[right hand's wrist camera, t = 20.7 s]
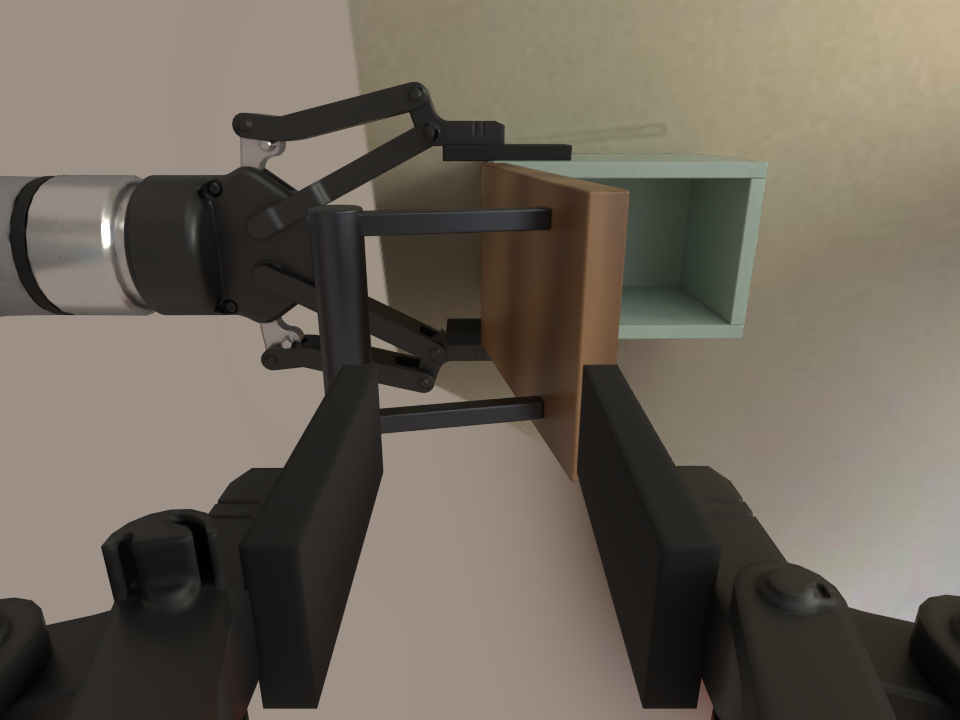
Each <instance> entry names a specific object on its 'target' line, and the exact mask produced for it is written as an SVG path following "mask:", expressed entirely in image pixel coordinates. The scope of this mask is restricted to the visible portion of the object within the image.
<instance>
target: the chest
mask: <svg viewBox="0 0 960 720" xmlns="http://www.w3.org/2000/svg"><path fill="white" fill-rule="evenodd" d="M488 163H508V164H513V165H517V166H522V167H526V168H531V169H535V170H540V171H544V172H549V173H553V174H558V175H562V176H567V177H571V178H576V179H580V180H585V181H589V182H593V183H598V184H602V185H607V186H611V187H616V188H620V189H625V190H628V191H629V193H630V195H629V208H628V220H627V233H626V246H625V258H624V271H623V283H622V296H621V309H620V321H619V334H618V339H742V336H743V330H744V322H745V315H746V309H747V302H748V295H749V289H750V282H751V275H752V269H753V262H754V255H755V249H756V242H757V235H758V229H759V222H760V215H761V209H762V202H763V195H764V189H765V182H766V179H765V178H766V176H767V169H768V162H764V161H756V160H748V159H739V158H731V157H723V156H715V155H707V154H571V161H488Z"/></svg>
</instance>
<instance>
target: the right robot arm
mask: <svg viewBox="0 0 960 720" xmlns="http://www.w3.org/2000/svg"><path fill="white" fill-rule="evenodd" d="M382 475H383V459H382V441H381V425H380V408H379V391H378V374H377V365H342V367H341V369H340V371H339V372H338V374H337V376H336V378H335V379H334V381H333V383H332V384H331V386H330V388H329V390H328V391H327V393H326V395H325V397H324V398H323V400H322V402H321V404H320V405H319V407H318V409H317V410H316V412H315V414H314V416H313V417H312V419H311V421H310V423H309V424H308V426H307V428H306V430H305V431H304V433H303V435H302V437H301V438H300V440H299V442H298V443H297V445H296V447H295V449H294V450H293V452H292V454H291V456H290V457H289V459H288V461H287V463H286V464H285V466H284V468H251V469H250V470H248V471H247V472H246V473H244V474H243V475H241V476H240V477H238V478H237V479H235V480H234V481H232V482H231V483H230V484H229V485H228V487H227V488H226V490H225V491H224V493H223V494H222V495H221V497H220V498H219V500H218V504H215V505H214V507H213V508H212V510H211V511H210V512H209V514H207V513H204V512H200V511H196V510H192V509H176V510H167V511H163V512H158V513H153V514H149V515H147V516H144V517H142V518H139V519H137V520H134V521H132V522H129V523H128V524H126V525H125V526H123V527H122V528H120V529H119V530H117V531H116V532H114V533H112V534H111V535H110V537H109V538H108V539H107V540H106V541H105V543H104V544H103V545H102V546H101V548H102V553H103V556H104V561H105V565H106V569H107V573H108V577H109V581H110V585H111V590H112V593H113V598H114V604H113V606H112V609H111V610H110V611H106V612H103V613H100V614H96V615H92V616H87V617H83V618H78V619H73V620H69V621H64V622H60V623H55V624H50V625H46V623H45V620H44V616H43V613H42V609H41V608H40V607H39V606H38V605H37V604H35V603H34V602H33V601H32V600H26V599H20V598H7V599H0V720H249V717H248V711H247V708H248V705H249V703H250V700H251V698H252V695H253V693H254V690H255V688H256V685H257V683H258V680H259V684H260V690H261V697H262V703H263V708H264V709H266V708H267V709H316V708H317V707H318V703H319V700H320V696H321V693H322V689H323V685H324V682H325V678H326V675H327V671H328V668H329V664H330V660H331V657H332V653H333V649H334V646H335V643H336V639H337V635H338V632H339V628H340V625H341V621H342V618H343V614H344V610H345V607H346V603H347V600H348V596H349V593H350V589H351V586H352V582H353V578H354V575H355V571H356V568H357V564H358V560H359V557H360V553H361V550H362V546H363V543H364V539H365V536H366V532H367V528H368V525H369V521H370V518H371V514H372V510H373V507H374V503H375V500H376V496H377V493H378V489H379V486H380V482H381V478H382ZM577 475H578V478H579V482H580V486H581V489H582V493H583V496H584V500H585V503H586V507H587V510H588V514H589V517H590V521H591V525H592V528H593V532H594V536H595V539H596V543H597V546H598V550H599V553H600V557H601V560H602V564H603V568H604V571H605V575H606V578H607V582H608V586H609V589H610V593H611V596H612V600H613V603H614V607H615V610H616V614H617V618H618V621H619V625H620V628H621V632H622V636H623V639H624V643H625V646H626V650H627V653H628V657H629V660H630V664H631V667H632V671H633V675H634V678H635V682H636V685H637V689H638V693H639V696H640V700H641V703H642V707H643V708H644V709H696V708H697V703H698V697H699V690H700V684H701V677H702V680H703V682H704V684H705V687H706V690H707V692H708V695H709V697H710V699H711V702H712V704H713V711H712V718H711V720H960V596H953V595H942V596H936V597H930V598H928V599H927V600H926V601H924V602H923V603H922V604H921V605H920V606H919V609H918V613H917V616H916V620H915V623H914V622H909V621H904V620H900V619H895V618H890V617H886V616H881V615H877V614H872V613H867V612H863V611H860V610H856V609H853V608H849V607H848V605H847V603H846V601H845V599H844V598H843V597H842V595H841V594H840V592H839V591H838V590H837V588H836V587H835V586H833V585H832V584H831V583H830V582H828V581H827V580H826V579H824V578H823V577H822V576H820V575H819V574H816V573H814V572H812V571H810V570H808V569H806V568H803V567H801V566H799V565H795V564H791V563H788V562H787V561H786V559H785V558H784V556H783V555H782V554H781V552H780V551H779V549H778V548H777V546H776V545H775V544H774V542H773V541H772V539H771V538H770V537H769V535H768V534H767V532H766V531H765V530H764V528H763V527H762V525H761V524H760V522H759V521H758V520H757V518H756V517H753V513H752V511H751V510H750V508H749V507H748V505H747V504H746V503H745V502H743V500H742V497H741V496H740V494H739V493H738V491H737V490H736V488H735V487H734V486H733V484H732V483H731V481H730V480H728V479H727V478H725V477H724V476H722V475H721V474H719V473H718V472H716V471H715V470H713V469H712V468H710V467H709V466H675V464H674V463H673V461H672V459H671V457H670V456H669V454H668V452H667V450H666V449H665V447H664V445H663V443H662V442H661V440H660V438H659V437H658V435H657V433H656V431H655V430H654V428H653V426H652V424H651V423H650V421H649V419H648V417H647V416H646V414H645V412H644V410H643V409H642V407H641V405H640V404H639V402H638V400H637V398H636V397H635V395H634V393H633V391H632V390H631V388H630V386H629V384H628V383H627V381H626V379H625V378H624V376H623V374H622V372H621V371H620V369H619V367H618V365H583V374H582V391H581V408H580V425H579V441H578V458H577Z"/></svg>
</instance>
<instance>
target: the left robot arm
mask: <svg viewBox="0 0 960 720" xmlns="http://www.w3.org/2000/svg"><path fill="white" fill-rule="evenodd" d="M408 112H409V113H410V116H411V118H412V121H413V124H414V126H415V127H414V128H412V129H410V130H409V131H407V132H405V133H403V134H402V135H400V136H398V137H396V138H394V139H393V140H391V141H389V142H387V143H385V144H384V145H382V146H380V147H378V148H376V149H375V150H373V151H371V152H369V153H367V154H366V155H364V156H362V157H360V158H358V159H357V160H355V161H353V162H351V163H349V164H348V165H346V166H344V167H342V168H340V169H339V170H337V171H335V172H333V173H331V174H330V175H328V176H326V177H324V178H322V179H321V180H319V181H317V182H315V183H313V184H311V185H309V186H307V187H305V188H304V189H302V190H300V191H297V190H296V189H294V188H293V187H292V186H290V185H289V184H287V183H286V182H284V181H283V180H281V179H280V178H279V177H277V176H276V175H274V174H273V173H271V172H270V171H269V170H267V169H265V164H266V162H267V160H268V159H269V158H271V157H273V156H279V155H281V154H282V153H283V152H284V150H285V146H286V141H295V140H302V139H308V138H311V137H315V136H319V135H323V134H327V133H331V132H334V131H338V130H342V129H346V128H350V127H354V126H358V125H362V124H366V123H370V122H373V121H377V120H381V119H385V118H389V117H393V116H397V115H401V114H404V113H408ZM232 126H233V130H234V131H235V133H236V134H237V135H238V136H239V137H240V138H241V167H240V168H237V169H236V170H234V171H233V172H231V173H229V174H227V175H152V176H148V177H147V178H145V179H144V180H143V179H141V178H139V177H137V176H135V175H58V176H44V177H15V176H0V317H1V316H16V315H149V314H152V313H154V312H155V311H156V312H158V313H160V314H163V315H241V316H244V317H247V318H249V319H251V320H253V321H255V322H258V323H260V326H261V330H262V334H263V339H264V342H265V347H266V351H265V352H264V353H263V355H262V357H261V362H262V364H263V366H264V367H265V368H267V369H269V370H280V369H290V368H299V367H305V368H310V369H315V370H319V371H323V366H322V355H321V344H320V335H304V334H303V331H302V330H301V329H300V328H298V327H295V326H289V325H287V324H286V323H285V322H284V321H283V320H282V317H281V316H283V315H284V314H285V313H287V312H288V311H289V310H291V309H292V308H293V307H295V306H296V305H297V304H300V305H302V306H304V307H306V308H308V309H311V310H313V311H315V312H317V313H318V311H317V300H316V289H315V278H314V267H313V256H312V245H311V234H310V223H309V212H308V210H309V208H311V207H315V206H323V205H326V204H328V203H330V202H332V201H334V200H335V199H337V198H339V197H341V196H343V195H344V194H346V193H348V192H350V191H352V190H354V189H356V188H357V187H359V186H361V185H363V184H365V183H366V182H368V181H370V180H372V179H374V178H376V177H377V176H379V175H381V174H383V173H385V172H387V171H388V170H390V169H392V168H394V167H396V166H397V165H399V164H401V163H403V162H405V161H407V160H408V159H410V158H412V157H414V156H416V155H417V154H419V153H421V152H423V151H425V150H427V149H428V148H430V147H432V146H443V161H571V152H572V145H566V144H504V125H503V124H500V123H498V122H496V121H445V120H443V119H441V118H440V117H439V116H438V115H437V113H436V111H435V109H434V106H433V103H432V100H431V97H430V94H429V92H428V90H427V89H426V88H425V87H424V86H423V85H422V84H420V83H418V82H410V83H407V84H403V85H399V86H395V87H391V88H387V89H384V90H380V91H376V92H372V93H368V94H364V95H361V96H357V97H353V98H349V99H346V100H342V101H338V102H334V103H330V104H326V105H322V106H319V107H315V108H311V109H307V110H303V111H299V112H296V113H292V114H288V115H284V116H273V115H265V114H255V113H239V114H237V115H236V116H235V117H234V119H233V122H232ZM368 306H369V322H370V334H371V335H373V336H375V337H377V338H379V339H381V340H383V341H386V342H388V343H390V344H392V345H394V346H396V347H398V348H400V349H402V350H405V351H407V352H409V353H411V354H413V355H415V356H411V355H407V354H402V353H398V352H393V351H388V350H384V349H379V348H375V347H371V354H372V365H377V374H378V383H379V384H384V385H389V386H393V387H398V388H402V389H407V390H412V391H416V392H421V393H427V392H429V391H431V390H432V389H433V387H434V382H435V380H436V377H437V374H438V372H439V369H440V367H441V366H442V365H443V364H444V363H445V362H448V361H475V360H476V361H482V360H483V361H492V360H491V358H490V357H489V355H488V354H487V352H486V351H485V349H484V348H483V346H482V345H481V319H448V320H447V328H446V332H445V330H444V329H442V328H441V331H438V330H436V329H434V328H432V327H430V326H428V325H426V324H424V323H422V322H420V321H418V320H416V319H414V318H412V317H410V316H407V315H405V314H403V313H401V312H399V311H397V310H395V309H393V308H391V307H389V306H387V305H385V304H383V303H381V302H379V301H376V300H374V299H372V298H370V297H368ZM416 356H417V357H416Z"/></svg>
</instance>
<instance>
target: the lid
mask: <svg viewBox="0 0 960 720" xmlns="http://www.w3.org/2000/svg"><path fill="white" fill-rule="evenodd" d="M629 195H630V193H629V191H628V190H625V189H620V188H616V187H611V186H607V185H602V184H598V183H593V182H589V181H585V180H580V179H576V178H571V177H567V176H562V175H558V174H553V173H549V172H544V171H540V170H535V169H531V168H526V167H522V166H517V165H513V164H508V163H482V165H481V208H457V209H417V210H377V211H363V209H362V207H360V206H355V205H323V206H315V207H311V208H309V210H308V212H309V223H310V234H311V245H312V256H313V267H314V278H315V289H316V300H317V311H318V322H319V333H320V344H321V355H322V366H323V377H324V388H325V395H326V393H327V391H328V390H329V388H330V386H331V384H332V383H333V381H334V379H335V378H336V376H337V374H338V372H339V371H340V369H341V367H342V365H372V354H371V338H370V322H369V306H368V290H367V273H366V257H365V241H364V236H385V235H415V234H446V233H477V232H481V345H482V346H483V348H484V349H485V351H486V352H487V354H488V355H489V357H490V358H491V360H492V361H493V363H494V364H495V366H496V367H497V369H498V370H499V372H500V374H501V375H502V377H503V378H504V380H505V381H506V383H507V384H508V386H509V387H510V389H511V390H512V392H513V393H514V395H515V396H516V397H513V398H501V399H490V400H478V401H466V402H454V403H443V404H430V405H419V406H407V407H396V408H384V409H380V425H381V434H383V433H394V432H405V431H416V430H427V429H437V428H448V427H459V426H470V425H481V424H491V423H502V422H513V421H524V420H531V421H532V422H533V424H534V425H535V427H536V428H537V430H538V431H539V433H540V434H541V436H542V437H543V439H544V440H545V442H546V443H547V445H548V446H549V448H550V449H551V451H552V452H553V454H554V455H555V457H556V458H557V460H558V462H559V463H560V464H561V466H562V468H563V469H564V471H565V472H566V474H567V475H568V477H569V478H570V480H571V481H572V482H577V481H579V478H578V475H577V458H578V441H579V425H580V408H581V391H582V374H583V365H616V359H617V346H618V334H619V321H620V309H621V296H622V283H623V271H624V258H625V246H626V233H627V220H628V208H629Z"/></svg>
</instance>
